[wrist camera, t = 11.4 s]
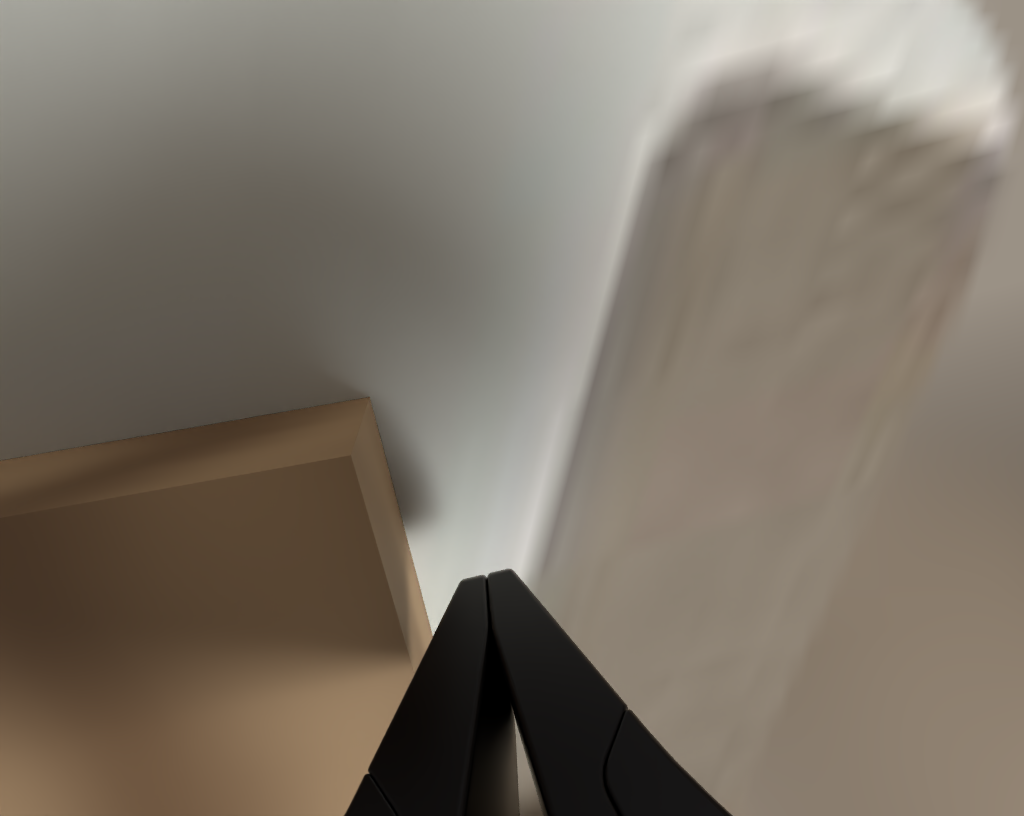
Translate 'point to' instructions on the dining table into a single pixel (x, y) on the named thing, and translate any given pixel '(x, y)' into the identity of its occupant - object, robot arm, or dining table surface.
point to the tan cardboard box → (204, 619)
